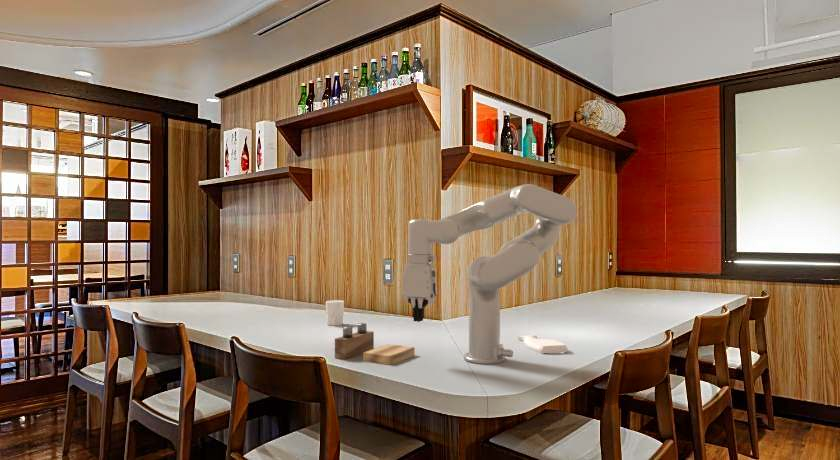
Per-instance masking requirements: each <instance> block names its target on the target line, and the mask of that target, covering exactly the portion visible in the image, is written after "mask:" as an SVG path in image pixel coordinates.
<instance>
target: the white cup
mask: <svg viewBox="0 0 840 460" xmlns="http://www.w3.org/2000/svg"><path fill="white" fill-rule="evenodd" d="M344 312H345V301H344V300H341V299H335V300H334V299H331V300H326V301H325V315H326V325H327V326H332V327H334V326H335V327H336V326H342V325H343V323H344V314H345V313H344Z"/></svg>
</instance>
